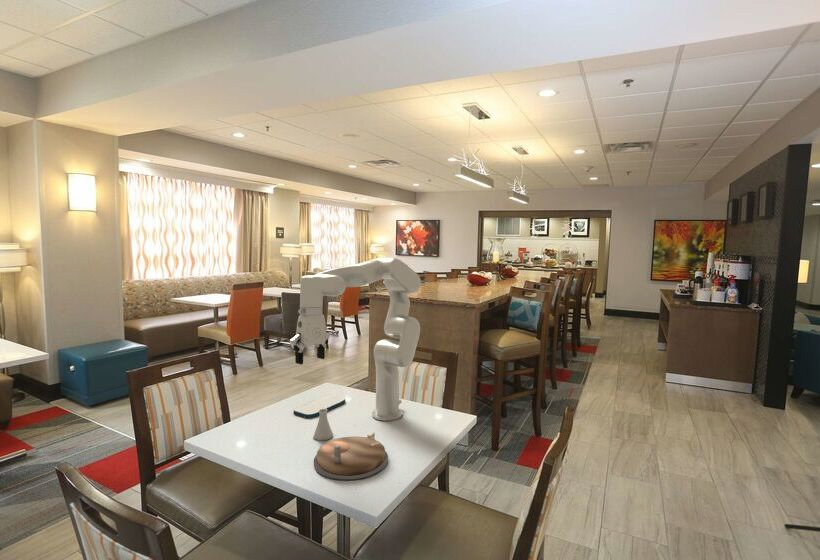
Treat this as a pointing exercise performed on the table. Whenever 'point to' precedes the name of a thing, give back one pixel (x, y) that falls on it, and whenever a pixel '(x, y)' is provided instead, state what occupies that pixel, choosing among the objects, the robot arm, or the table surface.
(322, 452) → the turntable
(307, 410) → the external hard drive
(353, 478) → the base
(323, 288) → the robot arm
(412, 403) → the table surface
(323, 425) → the flask
